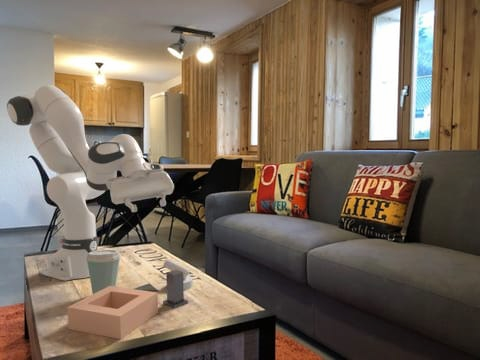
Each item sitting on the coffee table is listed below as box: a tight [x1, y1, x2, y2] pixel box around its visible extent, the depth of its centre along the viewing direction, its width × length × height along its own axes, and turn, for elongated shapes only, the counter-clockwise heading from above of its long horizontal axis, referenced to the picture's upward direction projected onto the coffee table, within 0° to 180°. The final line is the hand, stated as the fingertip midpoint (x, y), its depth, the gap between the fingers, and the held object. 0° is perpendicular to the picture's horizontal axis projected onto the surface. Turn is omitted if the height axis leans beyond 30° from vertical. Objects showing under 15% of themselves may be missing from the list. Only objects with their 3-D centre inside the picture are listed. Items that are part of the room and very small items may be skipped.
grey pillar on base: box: [162, 270, 189, 310], centre depth 122 cm, size 5×5×10 cm
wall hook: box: [163, 258, 194, 291], centre depth 137 cm, size 9×10×10 cm
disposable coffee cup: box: [86, 249, 122, 295], centre depth 128 cm, size 11×11×15 cm
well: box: [66, 286, 159, 340], centre depth 110 cm, size 17×17×6 cm
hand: (149, 208), depth 125 cm, fingers open, 8 cm apart
